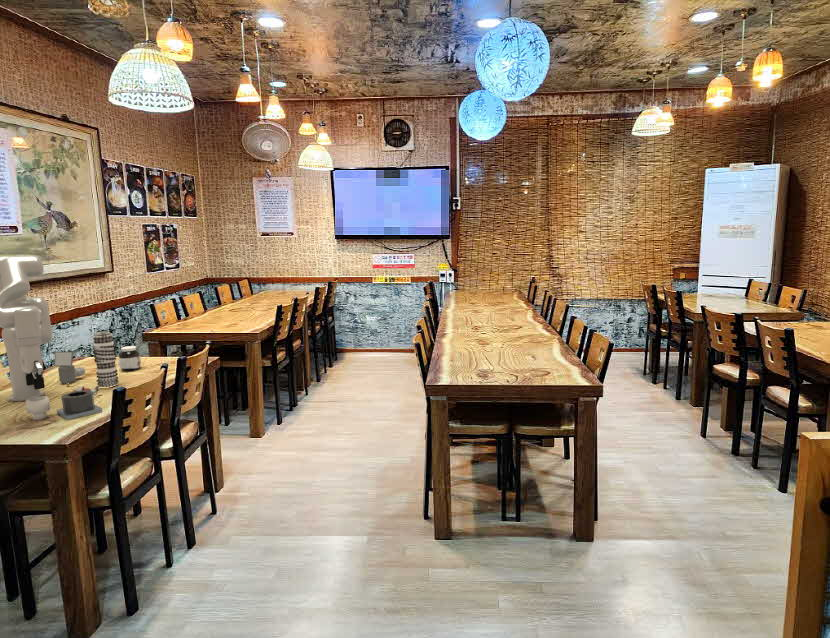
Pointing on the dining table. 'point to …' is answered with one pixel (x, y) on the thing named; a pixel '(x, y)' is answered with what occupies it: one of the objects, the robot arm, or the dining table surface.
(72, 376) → the camera
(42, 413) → the cup
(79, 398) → the gray square-based holder
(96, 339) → the decorative candle
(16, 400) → the robot arm
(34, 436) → the dining table surface
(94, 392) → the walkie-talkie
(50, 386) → the dining table surface
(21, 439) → the dining table surface
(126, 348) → the spread jar
